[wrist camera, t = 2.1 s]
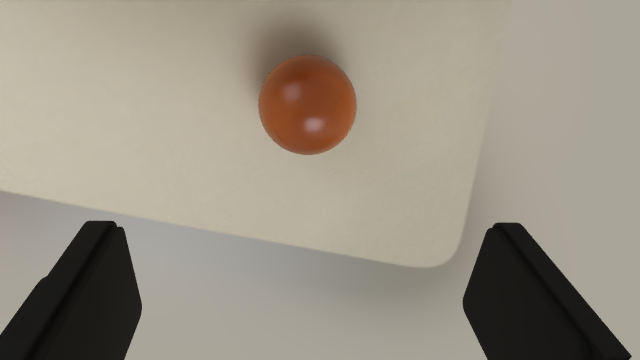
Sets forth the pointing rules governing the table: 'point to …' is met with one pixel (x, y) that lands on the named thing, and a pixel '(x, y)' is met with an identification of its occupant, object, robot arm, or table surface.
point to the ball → (307, 104)
